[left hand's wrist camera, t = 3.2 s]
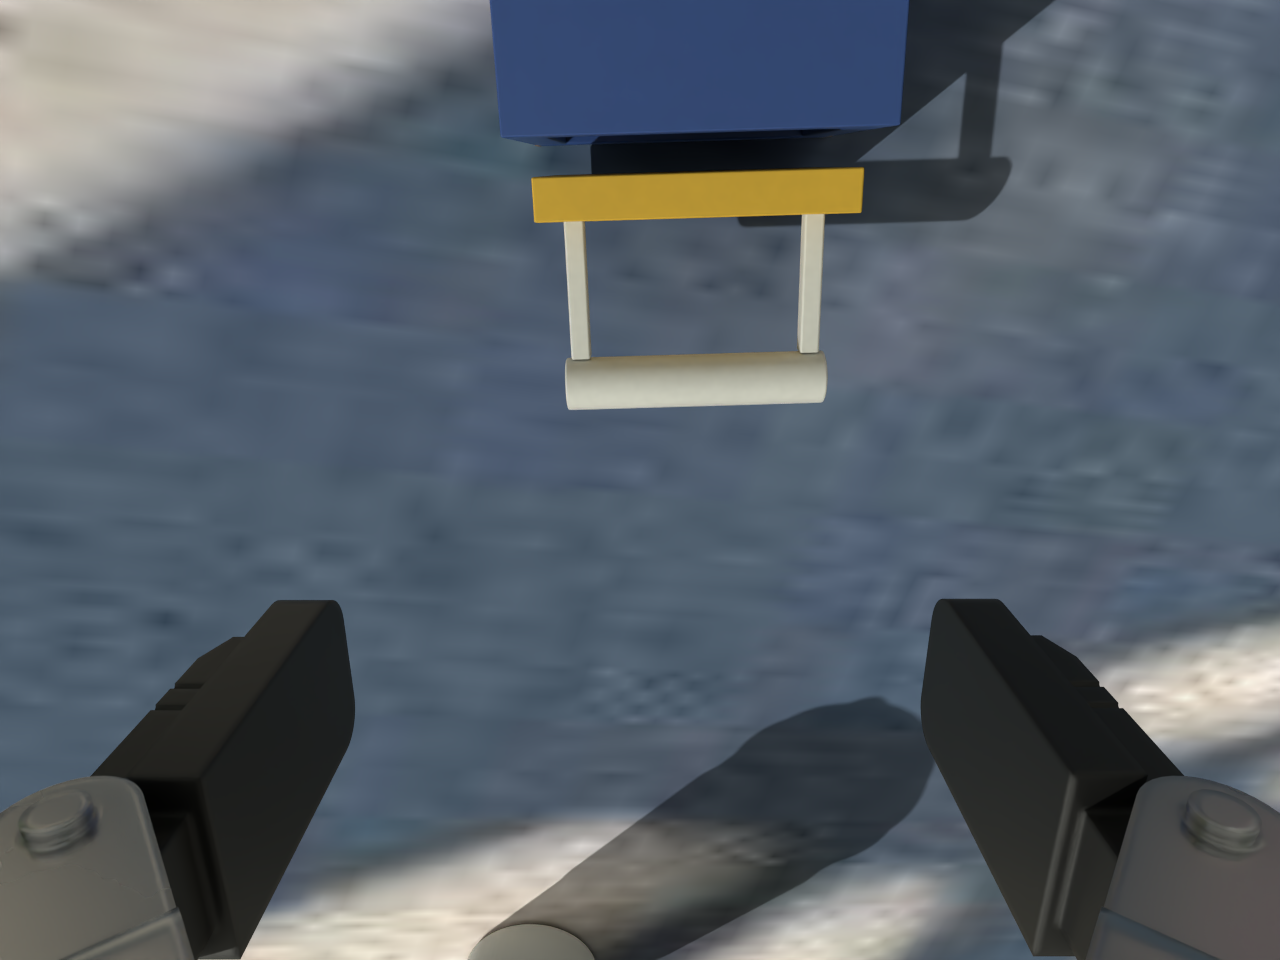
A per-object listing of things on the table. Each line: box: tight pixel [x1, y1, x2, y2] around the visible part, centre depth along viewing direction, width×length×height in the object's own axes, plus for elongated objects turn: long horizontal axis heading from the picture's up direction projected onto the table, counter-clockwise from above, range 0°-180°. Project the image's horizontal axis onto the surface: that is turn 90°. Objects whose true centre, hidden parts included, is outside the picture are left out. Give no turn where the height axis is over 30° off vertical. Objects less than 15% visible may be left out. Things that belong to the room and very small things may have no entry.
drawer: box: [531, 167, 864, 410], centre depth 25 cm, size 22×9×7 cm, turn 2°
